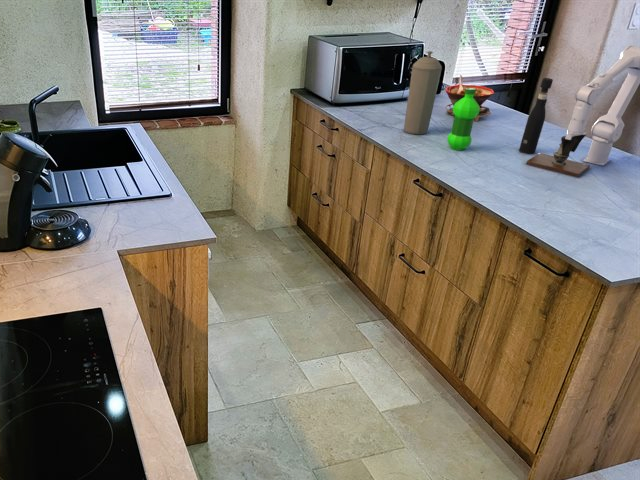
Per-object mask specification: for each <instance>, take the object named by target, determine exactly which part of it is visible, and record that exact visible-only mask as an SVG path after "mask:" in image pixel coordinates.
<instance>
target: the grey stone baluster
mask: <svg viewBox="0 0 640 480" xmlns="http://www.w3.org/2000/svg"><path fill="white" fill-rule="evenodd" d="M564 137H566V135H564ZM560 141H561V140H560ZM553 156H554V159H555V160H553V161H552V163H553V164H556V165H566V163H565V162H564V161H565V160H568V159H569V157H570V154H569V155H568V156H567V157H566V156H562V141H561V142H560V143H559V147H558V150H557V151H554V152H553Z"/></svg>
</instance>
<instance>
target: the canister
mask: <svg viewBox="0 0 640 480" xmlns="http://www.w3.org/2000/svg"><path fill="white" fill-rule="evenodd" d="M426 53H427V56H423V57H419V59H417V61H415V62H414V63H413V64H412V66H411V67H412V68H411V76H410V82H409V88H408V95H407V101H406V102H407V104H406V111H405V118H404V124H403V131H404V132H405V133H407V134H412V135H425V134H427V133H428V132H429V128H430V123H431V119H432V114H433V110H434V104H435V102H436V101H435V100H436V96H437V91H438V86H439V83H440V77H441V73H442V70H443V67H442V64H441V63H440V60H439V59H437V58H436V57H433V56H431V55H432V54H434V51H431V50H428V51H426Z"/></svg>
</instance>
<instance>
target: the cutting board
mask: <svg viewBox="0 0 640 480" xmlns="http://www.w3.org/2000/svg"><path fill="white" fill-rule="evenodd" d="M553 160H555V159H554V155H551V154H548V153H547V154H546V153H543V152H539V153H538V154H536V155H534V156H533V157H530V159H528V160H526V165H527V166H531V167H535V168H538V169H542V170H546V171H551V172H554V173H558V174H562V175H565V176H570V177H574V178H579V177H581V175H583V174H584V173H586V172H587V171H588V170H589V169H590V168H591V164H588V163H583V162H579V161H575V160H572V159H567V160H565V161H564V162H565V163H566V165H556V164H553V163H552V161H553Z"/></svg>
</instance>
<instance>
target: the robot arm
mask: <svg viewBox="0 0 640 480" xmlns="http://www.w3.org/2000/svg"><path fill="white" fill-rule="evenodd" d="M624 71H627V75H626V78H625V79H624V81H623V83H622V85H621V87H620V89H619V91H618V93H617V95H616V96H615V98H614V100H613V102H612V104H611V105H610V108H609V109H608V111H607V113H606V114H604V115H601V116H599V117H598V118H597V120H596V121H595V123H594V124H593V125H592V126H591V129H590V135H591V139H592V141H591V144H590V147H589V150H588V153H587V156H586V157H584V158H583V159H582V162H585V163H590V164H594V165H599V166H602V167H603V166H605V165H606V164H607V163H609V162H610V161H611V159H610V158H609V157H610V153H611V151H612V149H613V144H614V143H615V142H617V141H618V140H619V139H620V138H621V137H622V134H623V129H624V128H625V126H626V125H625V123H624V121H623V119H622V117H623V115H624V113H625V112H626V109H627V108H628V106H629V104H630V102H631V100H632V98H633V96H634V94H635V93H636V91H637V89H638V87H639V86H640V47H638V46H634V45H627V47H625V49H623V50H622V52H621V53H620V55H619V59H617V61H616V62H615V63H614V64H613V65H612V66H611V67H610V68H609V69H608V70H607V71H606V72H600V73H599V74H598V75H597V76H596V77H594V78H593V80H591V81H590V82H589V83H587V85H583V86H580V87H579V88H578V89H577V90H576V93H575V94H574V99H575V100H574V103H573V104H574V110H573V112H572V115H571V117H570V121H569V124H568V127H567V129H566V135H564V136H566V137H564V136H561V139H560V141H562V156H566V157H567V156H568V155H569V156H570V153H571V152H572V153H575V152H576V150H577V149H578V147H579V145H580V144H581V142H582V140H583V139H584V138H585V137H586V136H587V134H588V132H587V131H585V130H586V126H587V124H588V120H589V119H590V116H591V112H592V109H593V106H594V104H596V103H597V102H598V101H599V99H600V97H601V96H602V95H603V93H604V92H605V91H606V90H607V89H608V88H609V87H610V86H612V84H613V83H614V79H615V78H616V77H618V76H619V75H621V74H622V73H623V72H624Z"/></svg>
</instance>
